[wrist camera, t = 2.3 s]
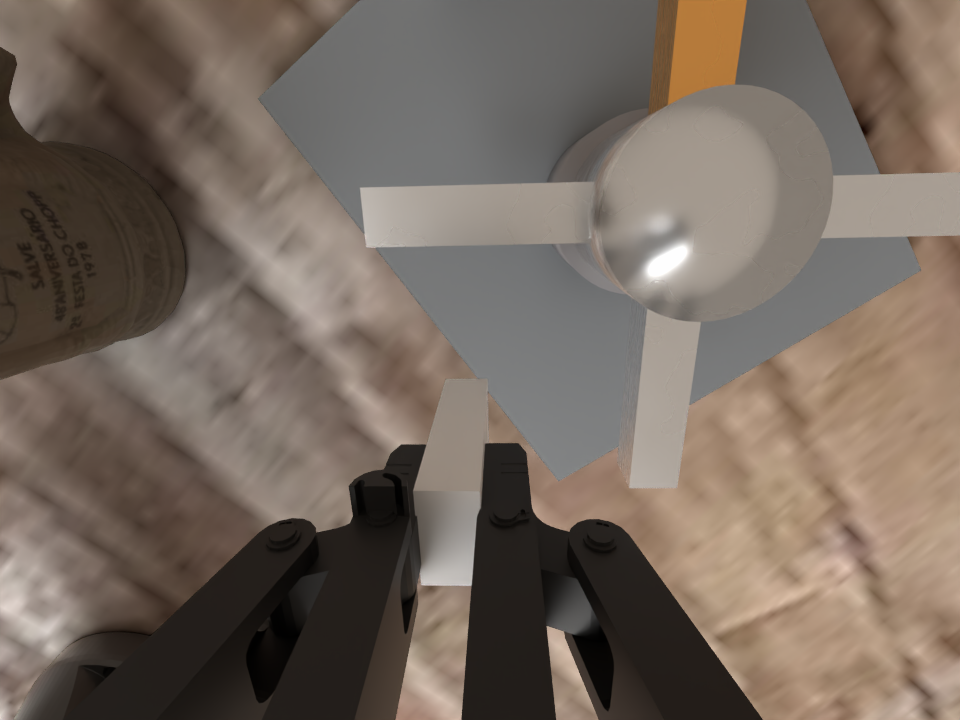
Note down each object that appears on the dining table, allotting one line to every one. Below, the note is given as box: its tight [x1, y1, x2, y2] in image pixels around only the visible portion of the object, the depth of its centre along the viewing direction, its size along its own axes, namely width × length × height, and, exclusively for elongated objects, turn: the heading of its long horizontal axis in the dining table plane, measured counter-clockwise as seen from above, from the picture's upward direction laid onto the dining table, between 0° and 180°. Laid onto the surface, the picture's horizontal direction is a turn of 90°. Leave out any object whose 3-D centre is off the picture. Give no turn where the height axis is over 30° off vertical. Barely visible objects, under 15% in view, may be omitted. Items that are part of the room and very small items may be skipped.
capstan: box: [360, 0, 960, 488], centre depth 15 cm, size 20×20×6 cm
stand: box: [258, 0, 921, 481], centre depth 18 cm, size 22×26×14 cm
